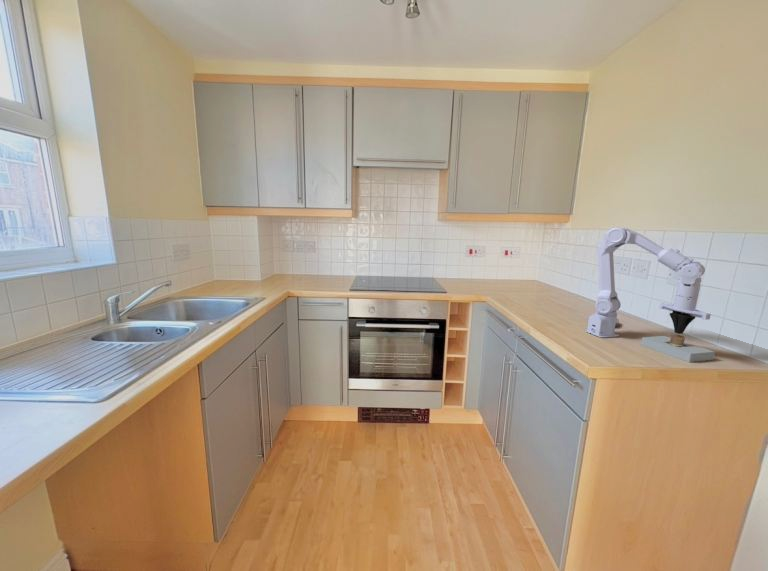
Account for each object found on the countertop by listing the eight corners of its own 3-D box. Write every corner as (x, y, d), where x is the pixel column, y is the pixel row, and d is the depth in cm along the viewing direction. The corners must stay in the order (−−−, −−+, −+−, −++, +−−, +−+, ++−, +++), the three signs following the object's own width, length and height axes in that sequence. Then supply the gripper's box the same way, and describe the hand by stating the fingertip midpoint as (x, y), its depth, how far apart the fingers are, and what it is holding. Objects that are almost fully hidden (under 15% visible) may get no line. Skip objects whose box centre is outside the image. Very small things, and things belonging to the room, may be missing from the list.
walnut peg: (684, 353, 113) (688, 338, 111) (675, 354, 112) (679, 338, 111) (673, 349, 116) (677, 334, 115) (665, 350, 116) (668, 334, 114)
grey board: (689, 362, 105) (690, 353, 105) (640, 344, 120) (642, 337, 120) (713, 359, 108) (715, 351, 107) (662, 343, 123) (664, 335, 122)
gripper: (720, 300, 104) (711, 339, 107) (672, 291, 118) (665, 326, 121) (705, 301, 103) (696, 340, 105) (657, 292, 117) (651, 327, 119)
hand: (678, 333), depth 113 cm, fingers closed
